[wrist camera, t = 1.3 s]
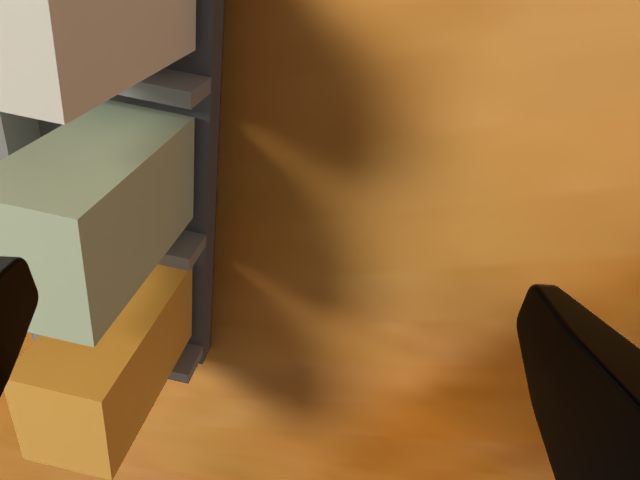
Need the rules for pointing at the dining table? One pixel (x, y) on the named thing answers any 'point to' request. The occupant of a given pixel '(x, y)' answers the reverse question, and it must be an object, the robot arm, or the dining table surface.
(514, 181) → the dining table surface
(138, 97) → the grey divided tray
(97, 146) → the pale green tall block
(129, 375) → the orange block
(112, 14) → the white rectangular block
